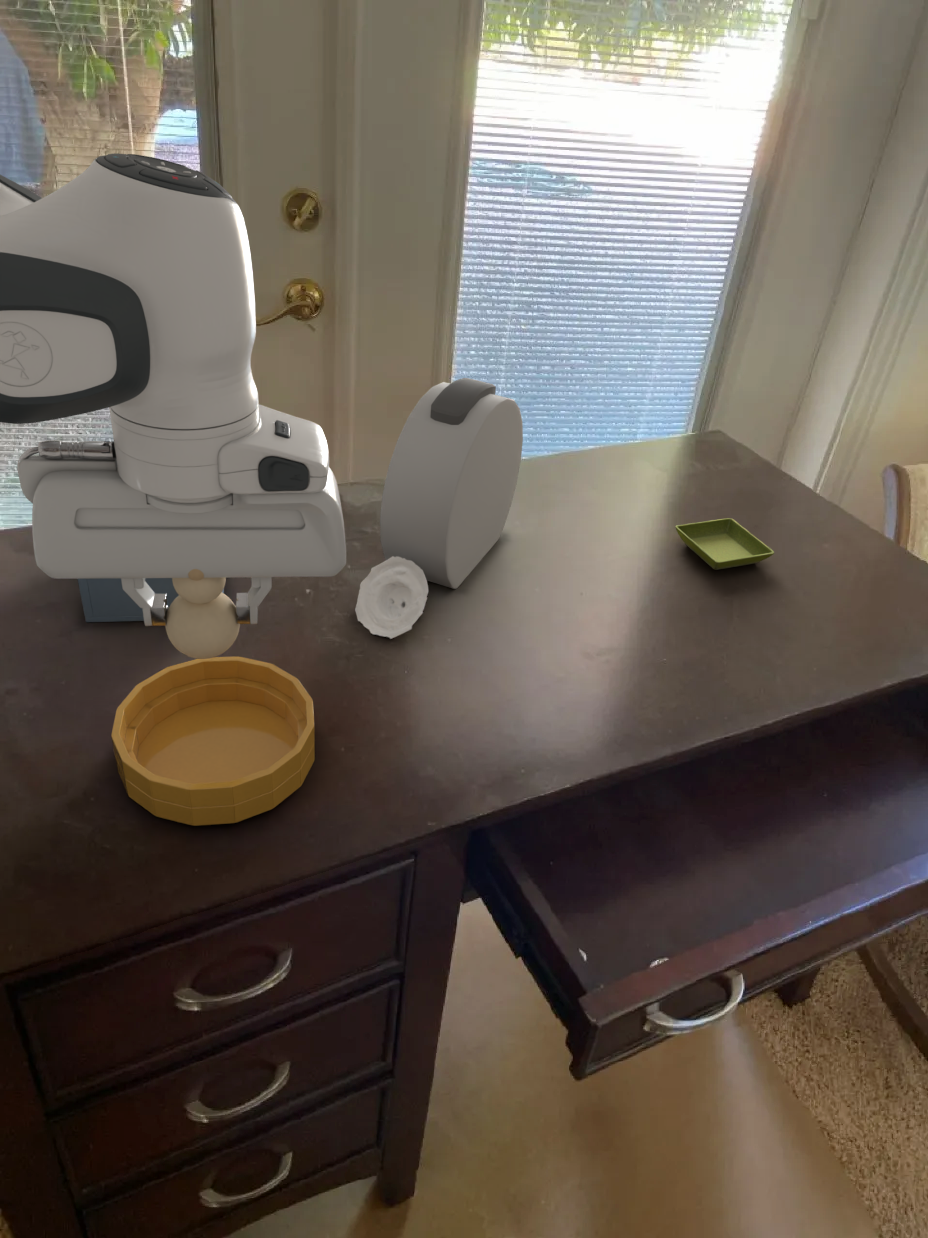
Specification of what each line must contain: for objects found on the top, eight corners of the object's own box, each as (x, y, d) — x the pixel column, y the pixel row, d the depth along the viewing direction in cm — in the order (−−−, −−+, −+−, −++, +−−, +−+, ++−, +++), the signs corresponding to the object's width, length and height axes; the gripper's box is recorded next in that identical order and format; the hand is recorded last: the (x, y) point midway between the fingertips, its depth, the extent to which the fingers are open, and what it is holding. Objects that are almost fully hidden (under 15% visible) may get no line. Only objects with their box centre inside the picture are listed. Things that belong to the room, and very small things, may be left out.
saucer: (727, 531, 112) (731, 516, 111) (771, 567, 105) (776, 552, 104) (669, 540, 108) (673, 525, 107) (712, 578, 102) (716, 563, 101)
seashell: (405, 650, 92) (456, 617, 87) (367, 652, 88) (418, 617, 83) (382, 582, 94) (431, 546, 90) (344, 580, 90) (393, 542, 86)
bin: (85, 622, 85) (74, 564, 81) (106, 547, 96) (97, 493, 92) (221, 619, 87) (216, 562, 84) (227, 546, 98) (223, 493, 94)
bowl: (107, 837, 65) (98, 795, 62) (133, 700, 77) (126, 659, 74) (317, 823, 68) (317, 782, 65) (310, 692, 80) (310, 653, 77)
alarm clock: (457, 505, 111) (472, 349, 99) (513, 521, 109) (535, 364, 97) (376, 587, 94) (383, 411, 83) (439, 608, 92) (456, 431, 81)
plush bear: (165, 674, 63) (153, 572, 58) (171, 631, 67) (161, 531, 62) (240, 672, 64) (234, 571, 59) (242, 629, 68) (237, 532, 63)
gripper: (-2, 463, 52) (39, 650, 60) (351, 469, 56) (346, 643, 64) (22, 418, 57) (57, 597, 65) (345, 427, 61) (340, 594, 69)
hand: (203, 620), depth 64 cm, fingers closed on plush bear, 5 cm apart
